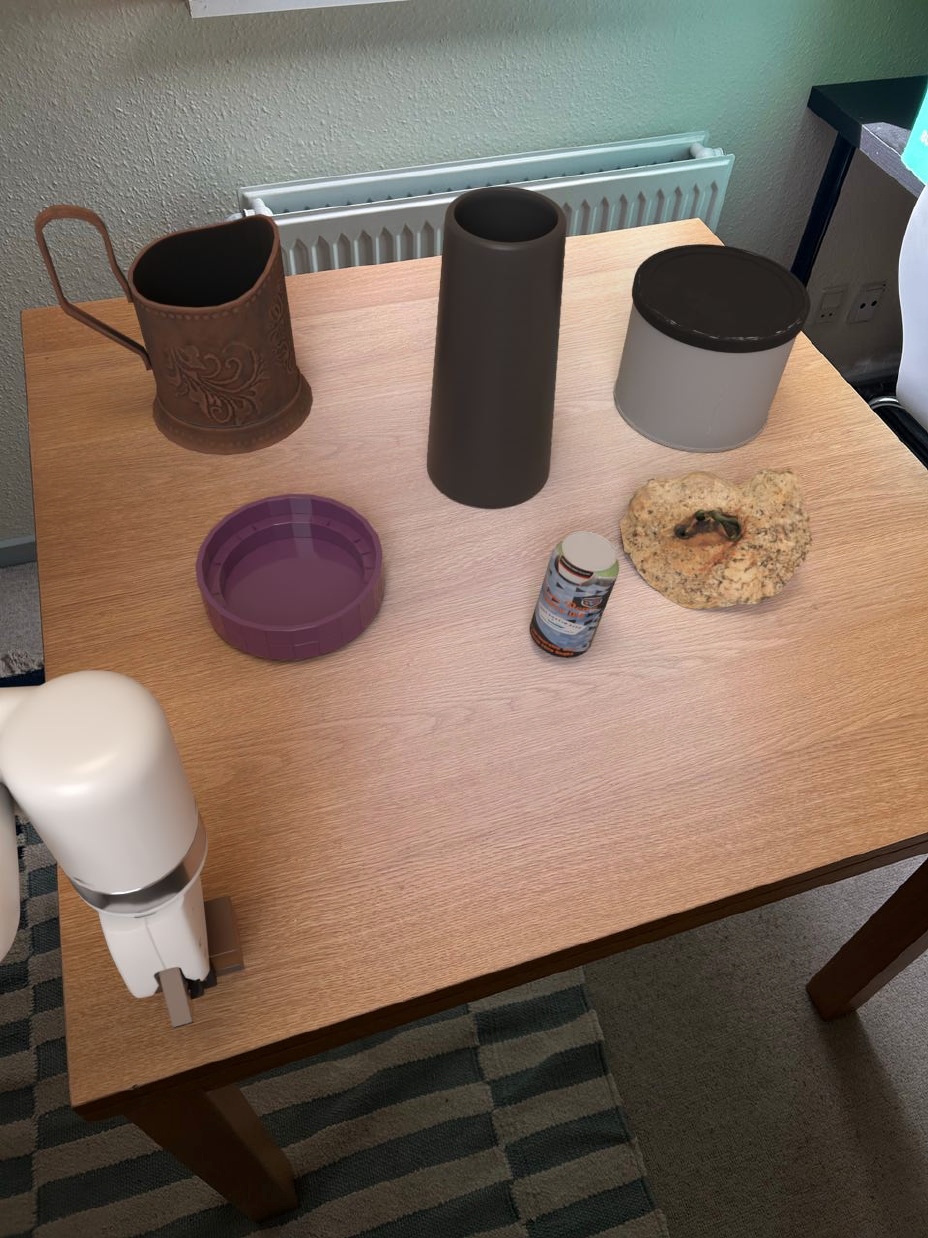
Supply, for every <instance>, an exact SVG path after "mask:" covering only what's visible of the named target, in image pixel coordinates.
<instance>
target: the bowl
mask: <svg viewBox="0 0 928 1238" xmlns="http://www.w3.org/2000/svg"><path fill="white" fill-rule="evenodd" d="M383 556H384V554H383V548H382V544H381V541H380V537H379V534H378V533H377V532H376V530H375V529H374V527H373V526H372V525H371V523H370V521H369V520H368V519H367V518H366V517H364V515H362V514H361V513H359V511H357V510H355V509H354V508H353V507H352V506H349V505H347V504H345V503H344V502H341V501H339V500H337V499H333V498H330V497H326V496H322V495H316V494H311V493H310V494H309V493H308V494H307V493H286V494H279V495H273V496H267V497H263V498H260V499H258V500H257V499H256V500H254V501H252V502H249V503H246V504H243V505H242V506H239V507H238V508H237V509H235V510H233V511H231V512H230V513H229V514H226V515H225V516H224V517H223V518H222V519H221V520H219V521H218V523H217V524H215V525H214V526H213V527H212V528H211V529H210V530H209V532H208V533H207V535H206V536H205V538H204V540H203V541H202V543H201V545H200V546H199V549H198V553H197V557H196V560H195V576H196V583H197V587H198V590H199V593H200V597H201V600H202V604H203V607H204V610H205V613H206V615H207V618H208V619H209V621H210V623H211V625H212V627H213V629H214V630H215V632H216V633H218V635H220V636H221V637H222V638H223V639H224V641H226V642H227V643H229V644H230V645H231V646H233V647H235V648H237V649H239V650H240V651H243V653H244V652H245V653H246V654H248V655H252V656H257V657H260V658H264V659H269V660H280V661H281V660H282V661H285V660H287V661H296V660H297V661H298V660H303V659H308V658H312V657H313V658H315V657H319V656H322V655H325V654H328V653H330V652H333V651H334V650H337V649H339V648H342V647H344V646H345V645H347V644H348V643H350V642H351V641H352V640H354V639H355V638H357V637H359V636H360V635H361V634H362V633H363V632H364V631H365V630H366V628H367V627H368V626H369V625H370V624H371V622H372V621H373V620H374V619H375V617H376V615H377V613H378V611H379V609H380V606H381V604H382V602H383V599H384V589H385V575H384V573H385V572H384V557H383Z"/></svg>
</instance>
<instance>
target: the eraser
mask: <svg viewBox="0 0 928 1238" xmlns="http://www.w3.org/2000/svg"><path fill="white" fill-rule="evenodd" d="M204 911H205V920H206V930H207V942H208V955H209V961H210V963H211V966H212V968H213V970H214V972H215V974H216V977H217V978H219V977H221V976H225V975H229V974H232V973H237V972H240V971H244V970H245V963H244V955H243V948H242V942H241V936H240V929H239V923H238V916H237V912H236V910H235V908H234V905H233V901H232V898H231V896H230V895H225V896H221V897H217V898H213V899H209V900H204ZM156 978H157V980H158V981H159V979H158V977H156ZM159 993H164V992H163V989H162V986H161V984H160V982H159V986H158V988H157V990H156V992H155V993H154V995H156V994H159Z"/></svg>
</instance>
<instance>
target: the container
mask: <svg viewBox="0 0 928 1238" xmlns="http://www.w3.org/2000/svg"><path fill="white" fill-rule="evenodd" d="M631 300H632V304H631V307H630V308H631V309H630V314H629V318H628V324H627V329H626V333H625V339H624V344H623V348H622V353H621V357H620V358H621V359H620V363H619V367H618V368H619V369H618V374H617V377H616V380H615V383H614V386H613V401H614V406H615V407H616V410H617V411H618V413H619V415H620V416H621V418H622V419H623V420H624V421H625V422H626V424H628V425H629V426H630V427H631V428H632V429H633V430H634V431H636V432H637V433H639V434H640V435H642V436H643V437H645V438H647V439H648V440H650V441H652V442H655V443H657V444H659V445H662V446H664V447H668V448H670V449H671V448H672V449H675V450H678V451H679V450H680V451H685V452H692V453H718V452H719V453H720V452H726V451H730V450H735V449H737V448H740V447H742V446H745V445H747V444H748V443H751V442H752V441H753V440H755V439H756V438H757V437H758V436H759V435H760V434H761V433H762V432H763V430H764V428H765V427H766V425H767V422H768V420H769V415H770V410H771V407H772V405H773V402H774V399H775V396H776V393H777V391H778V388H779V386H780V383H781V380H782V377H783V374H784V372H785V370H786V367H787V364H788V361H789V358H790V355H791V353H792V351H793V348H794V345H795V342H796V339H797V337H798V335H799V334H800V333H801V332H802V330H803V329H804V327H805V325H806V322H807V320H808V317H809V315H810V312H811V298H810V294H809V292H808V290H807V288H806V286H805V285H804V284H803V283H802V281H801V280H800V279H799V278H798V276H796V275H795V274H794V273H793V272H792V271H790V270H789V269H788V268H786V267H785V266H783V265H782V264H780V263H778V262H776V261H775V260H773V259H770V258H769V257H767V256H764V255H761V254H759V253H757V252H753V251H750V250H746V249H743V248H740V247H739V248H738V247H735V246H729V245H721V244H709V243H695V244H684V245H683V244H682V245H677V246H673V247H669V248H666V249H663V250H660V251H657V252H656V253H653V254H652V255H650V256H649V257H647V258H646V259H645V260H644V261H642V263H641V264H640V265H639V266H638V267H637V269H636V272H635V273H634V276H633V282H632V286H631Z"/></svg>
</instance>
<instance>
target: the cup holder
mask: <svg viewBox="0 0 928 1238" xmlns="http://www.w3.org/2000/svg"><path fill="white" fill-rule="evenodd" d="M60 219H62V220H63V219H73V220H80V221H83V222H87V223H88V224H90V225H91V226H93V227H94V228H96V230H97V231H98V232H99V233H100V235H101V236H102V239H103V244H104V247H105V251H106V254H107V258H108V261H109V265H110V268H111V272H112V274H113V275H114V277H115V279H116V280H117V282H118V283H119V285H120V286H121V288H122V290H123V292H124V294H125V297H126V300H127V303H128V304H132V305H133V306H134V311H135V313H136V317H137V318H136V319H137V321H138V324H139V329H140V331H141V336H142V339H143V343H144V345H142V344H140V343H139V342H137V341H136V340H134V339H133V338H131V337H129V336H127V335H126V334H124V333H122V332H120V331H119V330H117V329H115V328H114V327H112V326H110V325H108V324H107V323H105V322H104V321H102V320H100V319H99V318H97V317H95V316H93V315H91V314H90V313H88V312H86V311H85V310H82V309H81V308H79V307H78V306H76V305H74V304H73V303H71V302H70V301H69V300H68V299H67V298H66V297H65V295H64V293H63V290H62V287H61V284H60V281H59V277H58V275H57V272H56V268H55V266H54V262H53V260H52V256H51V253H50V250H49V248H48V245H47V242H46V239H45V236H44V233H43V230H44V228H45V227H46V225H48V224H49V223H50V222H51V221H53V220H60ZM33 224H34V232H35V240H36V243H37V246H38V249H39V251H40V254H41V256H42V259H43V262H44V265H45V268H46V270H47V273H48V276H49V279H50V281H51V284H52V287H53V290H54V292H55V295H56V298H57V301H58V304H59V307H60V308H61V310H62V311H63V312H64V313H65V314H66V315H67V316H69V317H71V318H72V319H73V320H76V321H78V322H80V323H81V324H82V325H84V326H86V327H88V328H90V329H91V330H94V332H97V333H99V334H101V335H102V336H104V337H105V338H107V339H109V340H111V341H113V342H114V343H116V344H117V345H120V346H122V347H124V348H125V349H127V350H129V351H130V352H132V353H134V354H136V355H138V356H139V357H140V358H141V360H142V362H143V364H144V367H145V371H152V374H153V377H154V381H155V384H156V386H155V387H156V390H155V393H156V394H155V396H154V399H153V401H152V418H153V421H154V423H155V425H156V427H157V429H158V431H160V432H161V434H163V435H164V437H166V439H168V440H169V441H171V442H172V443H174V444H176V445H178V446H180V447H181V448H184V449H186V450H190V451H194V452H198V453H202V454H207V455H209V454H210V455H222V456H223V455H225V456H227V455H236V454H246V453H251V452H254V451H258V450H262V449H265V448H269V447H271V446H272V445H275V444H277V443H279V442H280V441H282V440H284V439H287V438H288V437H289V436H290V435H292V434H293V433H294V432H295V431H296V430H298V429H299V428H300V427H302V425H303V423H304V422H305V421H306V419H307V418H308V416H309V415H310V413H311V409H312V405H313V402H314V398H313V397H314V396H313V391H312V387H311V385H310V383H309V382H308V381H307V378H305V375H303V373H301V370H300V368H299V367H298V365H297V358H296V357H297V356H296V350H295V342H294V336H293V328H292V320H291V313H290V305H289V297H288V289H287V282H286V275H285V268H284V261H283V260H284V259H283V252H282V245H281V237H280V232H279V226H278V224H277V223H276V222H275V220H274V219H273V218H272V216H269V215H265V214H264V213H263V214H262V213H257V214H253V215H247V216H243V217H239V218H236V219H233V220H228V221H224V222H218V223H213V224H207V225H202V226H196V227H190V228H186V229H185V228H184V229H181V230H176V231H173V232H170V233H167V234H165V235H162V236H159V237H157V238H156V239H154V240H153V241H151V242H150V243H148V244H147V245H146V246H143V248H142V249H141V250H140V251H139V253H137V255H136V256H135V257H134V259H133V260H132V262H131V265H130V267H129V269H128V271H127V277H126V276H125V273H123V271H122V269H121V267H120V266H119V264H118V262H117V259H116V254H115V251H114V248H113V245H112V242H111V238H110V235H109V232H108V229H107V225H106V223H105V222H104V221H103V219H102V218H101V217H100V216H99V215H98V214H97V213H95V212H94V211H93V210H91V209H89V208H87V207H84V206H80V205H75V204H73V205H72V204H54V205H48V207H46V208H45V209H43V210H41V211H39V213H38V214H37V216H36V217H35V219H34V220H33Z"/></svg>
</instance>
